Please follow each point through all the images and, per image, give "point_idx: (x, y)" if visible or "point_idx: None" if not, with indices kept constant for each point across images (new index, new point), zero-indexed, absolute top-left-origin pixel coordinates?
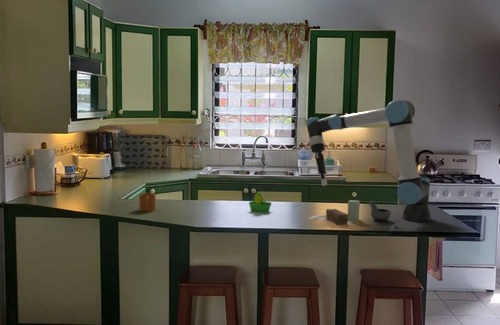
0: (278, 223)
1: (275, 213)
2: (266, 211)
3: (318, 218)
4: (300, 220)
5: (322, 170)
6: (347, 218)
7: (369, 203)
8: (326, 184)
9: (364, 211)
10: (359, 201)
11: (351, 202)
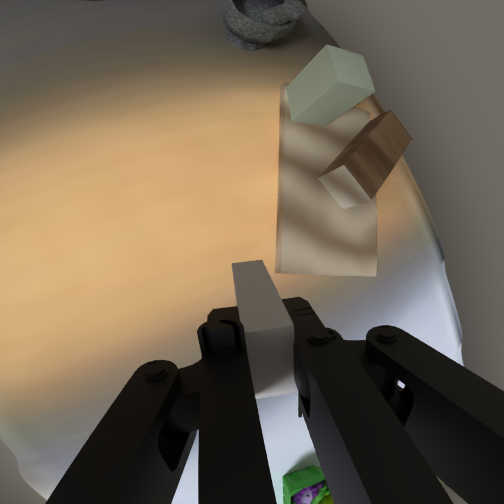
0: (420, 335)
1: (304, 442)
2: (307, 469)
3: (354, 238)
4: (366, 304)
5: (400, 334)
6: (380, 115)
7: (300, 18)
8: (261, 263)
9: (25, 125)
10: (331, 47)
11: (369, 79)
